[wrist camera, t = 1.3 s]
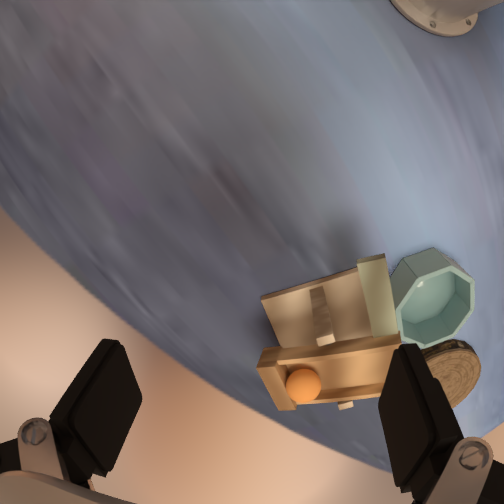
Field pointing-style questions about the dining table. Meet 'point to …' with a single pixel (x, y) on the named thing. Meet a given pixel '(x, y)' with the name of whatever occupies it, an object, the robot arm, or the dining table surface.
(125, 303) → the dining table surface
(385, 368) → the lever
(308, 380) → the ball
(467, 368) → the wood log slice
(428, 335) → the green octagonal bowl
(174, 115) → the dining table surface
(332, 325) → the frame
